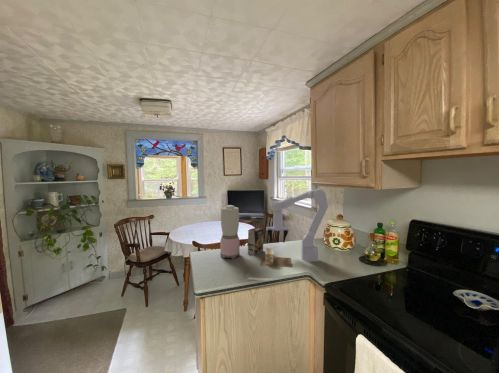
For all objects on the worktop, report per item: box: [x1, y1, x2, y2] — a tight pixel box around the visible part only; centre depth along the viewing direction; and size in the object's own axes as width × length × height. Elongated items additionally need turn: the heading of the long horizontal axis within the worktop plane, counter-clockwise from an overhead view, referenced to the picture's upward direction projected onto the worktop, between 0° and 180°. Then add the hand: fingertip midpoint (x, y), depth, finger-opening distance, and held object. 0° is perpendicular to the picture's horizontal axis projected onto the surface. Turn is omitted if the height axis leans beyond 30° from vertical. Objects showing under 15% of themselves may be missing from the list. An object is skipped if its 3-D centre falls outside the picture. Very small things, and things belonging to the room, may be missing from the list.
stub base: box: [259, 256, 293, 268], centre depth 129 cm, size 18×13×4 cm
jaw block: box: [264, 247, 274, 265], centre depth 129 cm, size 4×9×6 cm, turn 174°
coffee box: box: [247, 227, 264, 256], centre depth 144 cm, size 9×6×16 cm
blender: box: [219, 204, 241, 260], centre depth 140 cm, size 16×12×32 cm
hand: (277, 241), depth 138 cm, fingers open, 7 cm apart
